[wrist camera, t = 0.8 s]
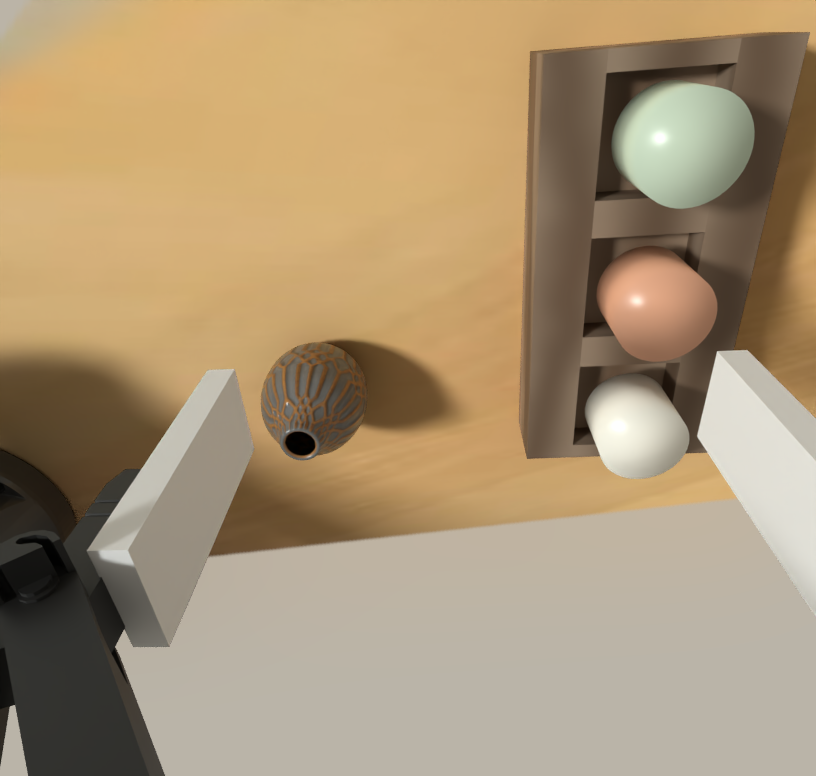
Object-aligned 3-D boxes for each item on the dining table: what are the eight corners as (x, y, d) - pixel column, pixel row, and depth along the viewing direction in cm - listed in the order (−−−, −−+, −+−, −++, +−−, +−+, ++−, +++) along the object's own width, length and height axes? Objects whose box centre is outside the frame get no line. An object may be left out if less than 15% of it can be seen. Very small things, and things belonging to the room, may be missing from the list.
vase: (390, 361, 41) (380, 434, 34) (340, 426, 45) (321, 506, 37) (304, 309, 40) (275, 374, 32) (259, 381, 43) (222, 455, 35)
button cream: (581, 440, 39) (596, 480, 35) (588, 375, 36) (604, 410, 33) (659, 437, 38) (681, 477, 35) (671, 371, 36) (696, 407, 32)
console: (519, 421, 44) (526, 458, 40) (530, 51, 31) (543, 54, 28) (684, 415, 43) (709, 452, 39) (763, 32, 30) (810, 32, 27)
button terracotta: (592, 331, 35) (610, 363, 31) (600, 248, 32) (620, 273, 29) (679, 326, 34) (707, 359, 31) (695, 242, 32) (726, 268, 28)
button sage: (606, 191, 30) (628, 212, 27) (617, 84, 28) (642, 91, 24) (705, 185, 30) (740, 205, 27) (725, 75, 28) (767, 81, 24)
